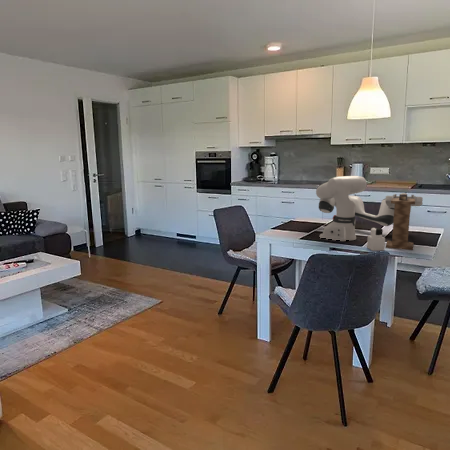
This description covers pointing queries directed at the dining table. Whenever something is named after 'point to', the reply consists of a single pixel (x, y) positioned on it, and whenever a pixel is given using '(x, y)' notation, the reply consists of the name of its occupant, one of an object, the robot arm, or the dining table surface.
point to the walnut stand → (401, 224)
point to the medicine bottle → (376, 240)
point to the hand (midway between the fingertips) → (403, 195)
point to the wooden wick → (403, 196)
